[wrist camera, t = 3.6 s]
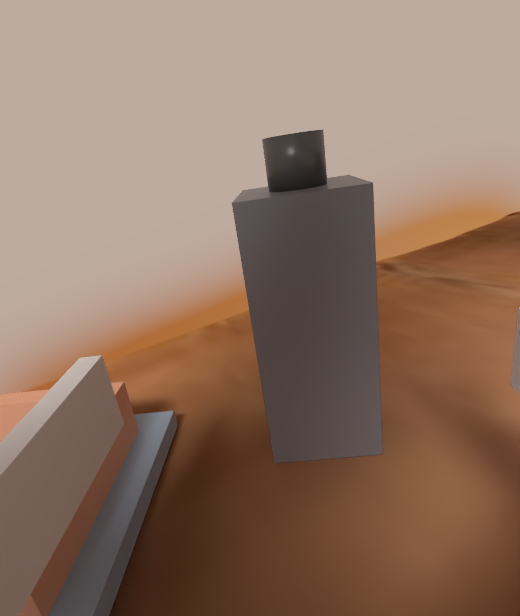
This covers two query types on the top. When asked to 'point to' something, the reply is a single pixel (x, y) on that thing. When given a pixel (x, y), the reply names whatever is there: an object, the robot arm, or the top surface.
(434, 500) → the top surface
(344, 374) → the bottle
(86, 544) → the end holder
